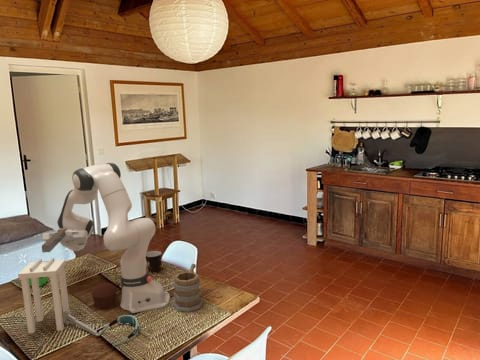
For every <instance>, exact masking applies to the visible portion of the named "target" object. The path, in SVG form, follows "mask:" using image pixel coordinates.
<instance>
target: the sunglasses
mask: <svg viewBox="0 0 480 360" xmlns="http://www.w3.org/2000/svg"><path fill="white" fill-rule="evenodd" d="M117 323H118V325H120V324H121V323H129V324H128V325H130V324H131V325H132V326H133V327H134V330H133V331H132V332H131V333H130V334H129V335H127V336H126V337H125V338H124V339H122V340H121V341H119V342H117V343H115V344H113V345H110V348H113V347H116V346H115V345H117V346H119V345H121V344H122V343H124V342H126V341H127V340H128V339H129V340H130V339H131V338H133V337H134V336H135V335H139V333H138V332H139V331H140V330H139V324H138V323H139V322H138V319H137V317H136V316H135V315H132V314H125V315H120V316H118V317H117V318H115V319H114V320H113V321H111V322H110V323H109V324H107V325H106V326H104V327H103V329H102V330H101V331H100V332H99V333H98V334H99V335H98V336H96V339H98V338H99V337H100V336H101V335H102V334H103V332H104V331H105V330H106V329H107V328H109V327H112V326H114V325H115V324H117ZM121 325H122V324H121ZM131 325H130V326H131ZM118 344H119V345H118Z"/></svg>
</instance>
